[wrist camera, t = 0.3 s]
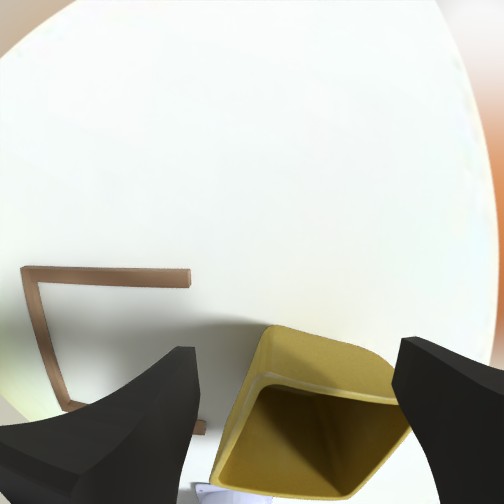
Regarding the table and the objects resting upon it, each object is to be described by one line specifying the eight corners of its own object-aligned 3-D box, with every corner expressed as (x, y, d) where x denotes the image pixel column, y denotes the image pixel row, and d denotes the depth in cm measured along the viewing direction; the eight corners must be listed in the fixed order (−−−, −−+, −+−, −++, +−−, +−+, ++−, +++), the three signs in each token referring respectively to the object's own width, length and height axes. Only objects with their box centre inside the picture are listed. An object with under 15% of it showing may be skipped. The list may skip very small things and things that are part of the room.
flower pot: (220, 392, 21) (205, 486, 13) (256, 291, 20) (257, 373, 11) (325, 415, 22) (348, 501, 13) (374, 325, 20) (433, 402, 11)
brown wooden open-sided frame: (205, 428, 22) (204, 435, 21) (65, 405, 22) (62, 410, 22) (190, 268, 19) (187, 272, 18) (26, 265, 19) (20, 268, 18)
